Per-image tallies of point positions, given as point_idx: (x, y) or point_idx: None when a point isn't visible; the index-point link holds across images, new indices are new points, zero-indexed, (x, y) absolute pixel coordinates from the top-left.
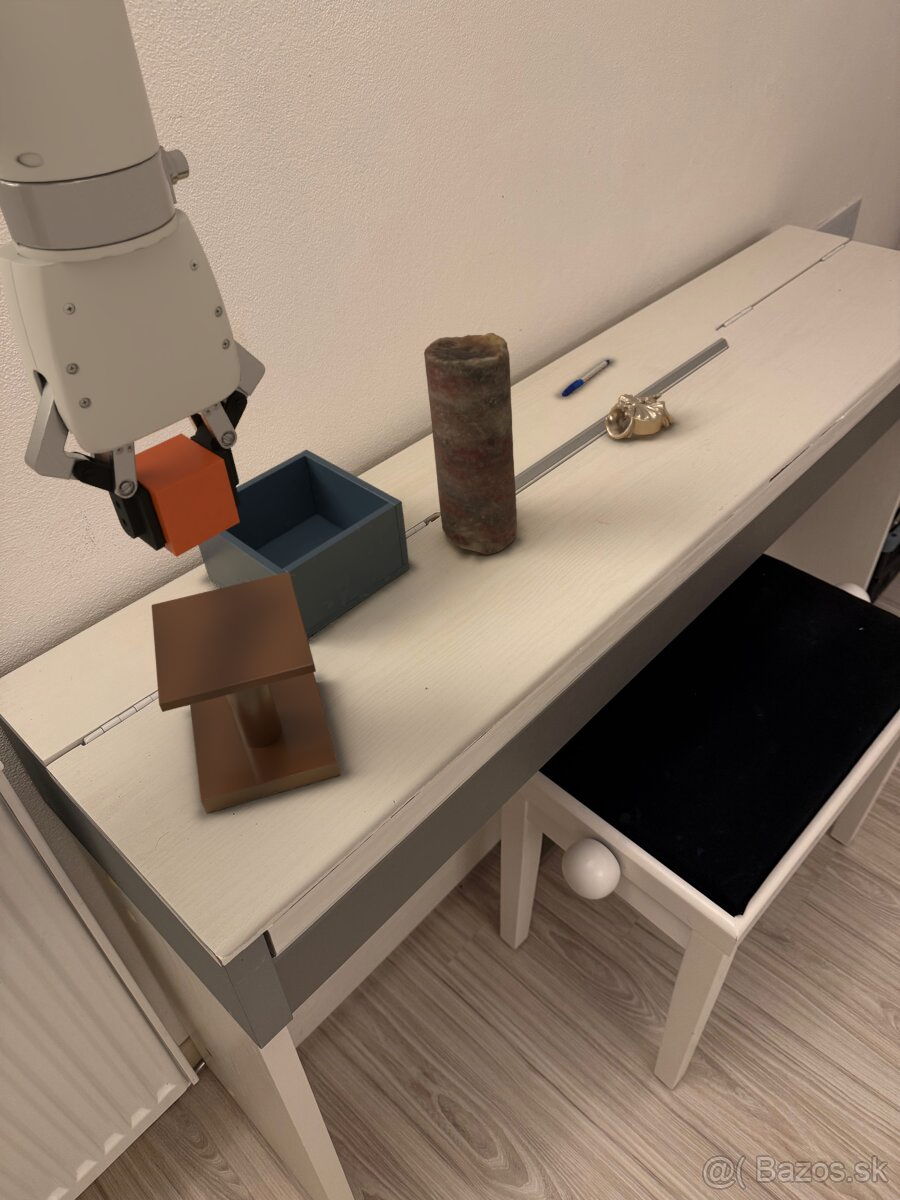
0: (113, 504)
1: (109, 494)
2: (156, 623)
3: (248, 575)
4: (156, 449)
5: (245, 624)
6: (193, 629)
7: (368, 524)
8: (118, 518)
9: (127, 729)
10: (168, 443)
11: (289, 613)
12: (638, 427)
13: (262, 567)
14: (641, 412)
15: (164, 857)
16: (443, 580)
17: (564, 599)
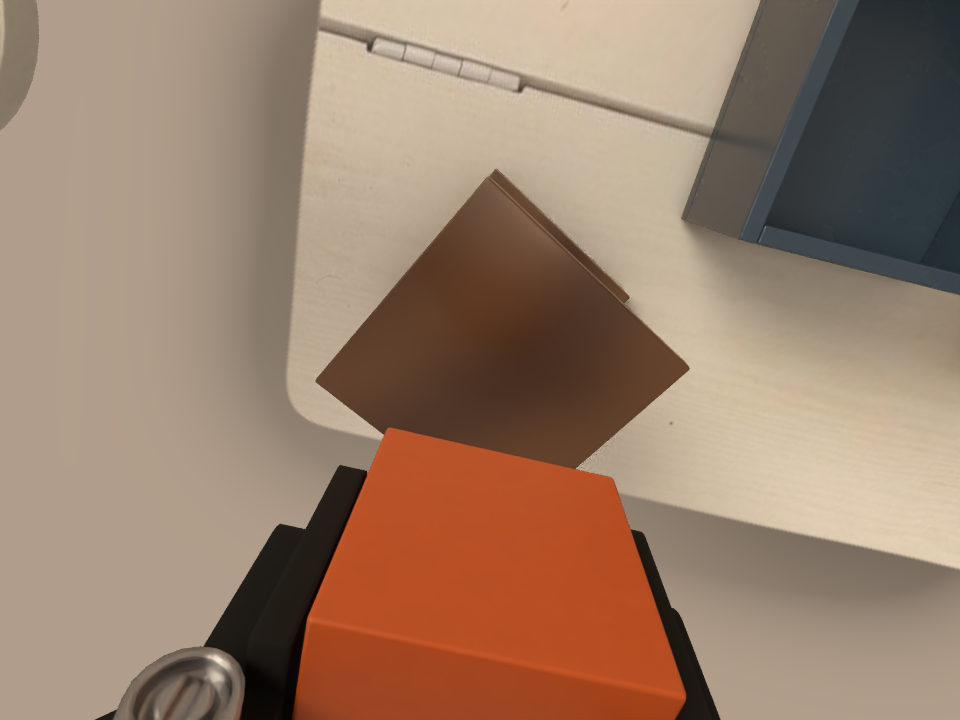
0: (234, 597)
1: (211, 633)
2: (449, 233)
3: (763, 104)
4: (509, 694)
5: (528, 388)
6: (472, 313)
7: (953, 293)
8: (264, 546)
9: (424, 91)
10: (581, 702)
11: (586, 436)
12: None
13: (760, 176)
14: None
15: (316, 298)
16: (896, 340)
17: (891, 500)
